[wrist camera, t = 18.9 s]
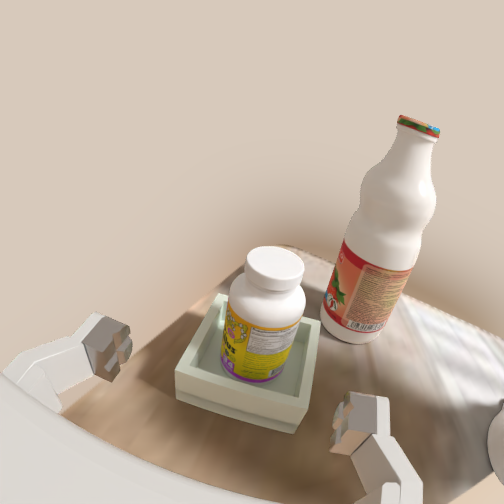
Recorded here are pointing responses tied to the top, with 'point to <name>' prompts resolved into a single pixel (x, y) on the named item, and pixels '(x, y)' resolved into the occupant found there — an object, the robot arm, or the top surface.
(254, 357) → the supplement bottle
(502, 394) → the top surface
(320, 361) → the top surface
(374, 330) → the fruit juice
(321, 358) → the top surface
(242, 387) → the sage tray
